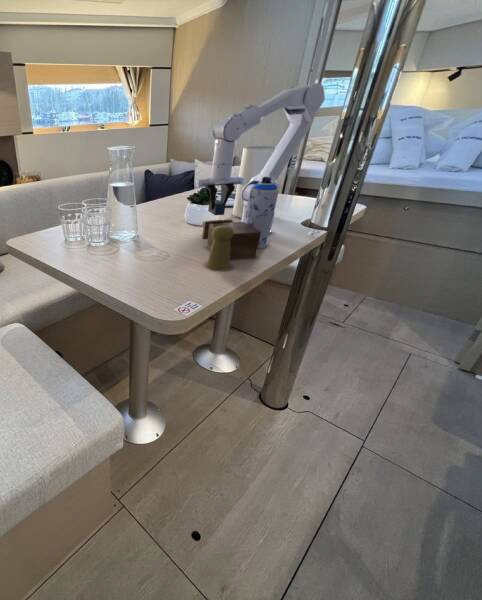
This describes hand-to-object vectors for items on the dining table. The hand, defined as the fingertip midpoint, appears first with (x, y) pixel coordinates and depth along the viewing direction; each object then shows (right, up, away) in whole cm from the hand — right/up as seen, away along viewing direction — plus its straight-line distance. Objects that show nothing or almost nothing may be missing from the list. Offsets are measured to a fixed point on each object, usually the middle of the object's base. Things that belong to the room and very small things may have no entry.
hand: (216, 208), depth 104 cm
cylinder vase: (+23, +4, +25) cm, 34 cm away
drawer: (0, -10, -1) cm, 11 cm away
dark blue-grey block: (0, -1, +1) cm, 1 cm away
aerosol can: (+10, -12, -3) cm, 17 cm away
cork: (-6, -21, -17) cm, 27 cm away
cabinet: (+1, -16, -8) cm, 18 cm away
